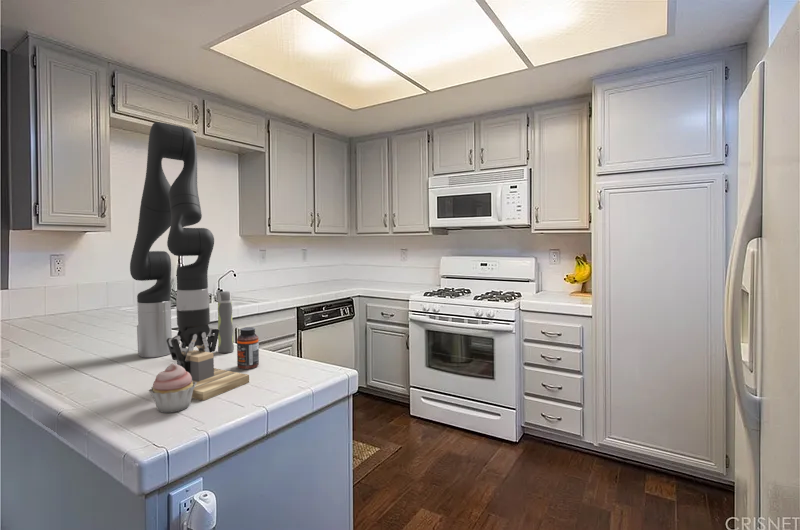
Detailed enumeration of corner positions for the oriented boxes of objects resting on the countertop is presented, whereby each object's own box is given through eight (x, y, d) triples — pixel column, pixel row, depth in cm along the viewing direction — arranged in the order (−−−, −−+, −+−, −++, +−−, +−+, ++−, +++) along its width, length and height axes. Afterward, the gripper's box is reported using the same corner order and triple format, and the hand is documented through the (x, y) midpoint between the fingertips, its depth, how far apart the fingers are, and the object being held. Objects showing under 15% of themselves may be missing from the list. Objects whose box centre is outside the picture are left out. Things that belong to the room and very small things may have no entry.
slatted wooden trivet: (160, 390, 104) (160, 382, 104) (208, 374, 117) (208, 367, 116) (203, 400, 97) (203, 392, 97) (249, 382, 110) (249, 374, 110)
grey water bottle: (232, 349, 143) (230, 290, 142) (235, 352, 139) (233, 291, 138) (216, 351, 141) (215, 291, 139) (219, 354, 137) (217, 292, 135)
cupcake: (140, 417, 89) (138, 370, 88) (162, 400, 98) (161, 357, 97) (186, 416, 89) (184, 369, 88) (204, 399, 98) (203, 357, 98)
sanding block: (177, 376, 108) (176, 353, 108) (192, 371, 112) (191, 349, 112) (198, 381, 105) (198, 357, 104) (214, 376, 109) (213, 353, 108)
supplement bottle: (232, 367, 122) (231, 329, 122) (248, 362, 128) (248, 325, 127) (247, 370, 120) (246, 331, 119) (263, 365, 125) (262, 327, 124)
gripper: (206, 302, 116) (208, 363, 117) (156, 309, 103) (159, 379, 104) (226, 303, 112) (228, 367, 113) (177, 312, 99) (180, 383, 100)
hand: (195, 372), depth 108 cm, fingers closed on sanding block, 4 cm apart
